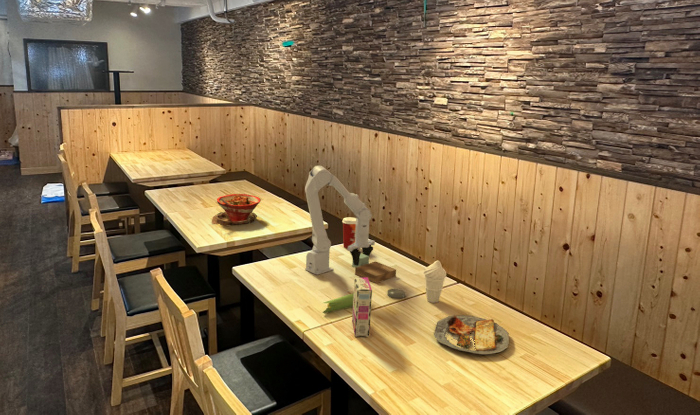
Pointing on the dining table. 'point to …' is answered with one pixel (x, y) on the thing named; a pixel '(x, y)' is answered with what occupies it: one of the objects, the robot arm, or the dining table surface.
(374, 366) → the dining table surface
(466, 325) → the food plate
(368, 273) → the base block
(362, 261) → the cube
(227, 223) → the stew
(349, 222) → the paper cup
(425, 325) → the dining table surface
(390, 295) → the grey flat round pebble
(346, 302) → the edible corn
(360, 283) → the candy bar box
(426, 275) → the soft serve ice cream cone
